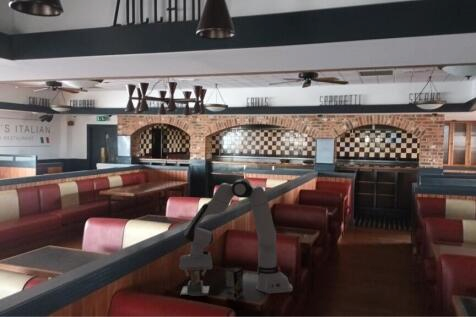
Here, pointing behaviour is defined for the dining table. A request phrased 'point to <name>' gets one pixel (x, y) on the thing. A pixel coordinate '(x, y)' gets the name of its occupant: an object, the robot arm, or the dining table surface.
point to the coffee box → (234, 283)
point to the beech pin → (195, 277)
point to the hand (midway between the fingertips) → (195, 275)
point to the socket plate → (195, 290)
